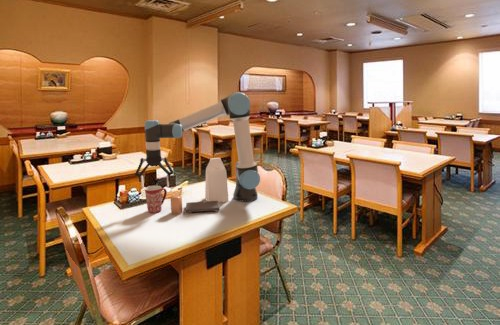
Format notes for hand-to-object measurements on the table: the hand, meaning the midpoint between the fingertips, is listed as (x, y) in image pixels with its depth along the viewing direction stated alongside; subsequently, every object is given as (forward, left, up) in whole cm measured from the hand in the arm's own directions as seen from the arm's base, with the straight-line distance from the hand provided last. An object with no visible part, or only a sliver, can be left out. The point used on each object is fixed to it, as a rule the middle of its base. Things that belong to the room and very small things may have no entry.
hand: (155, 187), depth 179 cm
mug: (0, 0, -14) cm, 14 cm away
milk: (-34, -13, -14) cm, 39 cm away
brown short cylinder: (-11, +6, -14) cm, 19 cm away
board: (-25, +3, -14) cm, 29 cm away
